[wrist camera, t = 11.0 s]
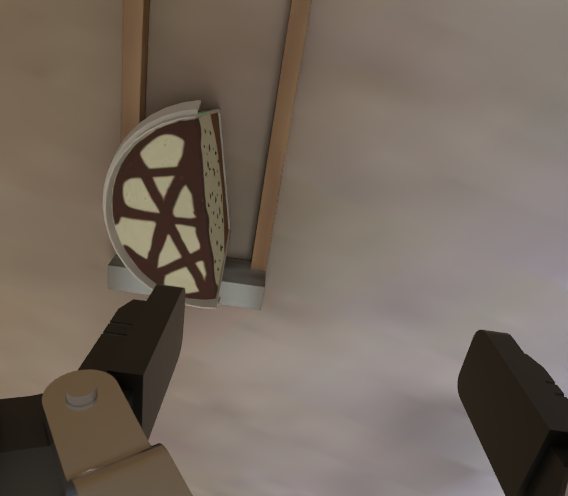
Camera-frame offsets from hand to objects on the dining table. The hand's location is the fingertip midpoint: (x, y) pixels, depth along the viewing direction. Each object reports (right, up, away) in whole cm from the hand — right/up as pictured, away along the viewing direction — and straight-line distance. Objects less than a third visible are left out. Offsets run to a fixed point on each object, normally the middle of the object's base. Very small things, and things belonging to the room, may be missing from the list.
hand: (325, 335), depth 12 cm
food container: (-9, +8, +22) cm, 25 cm away
